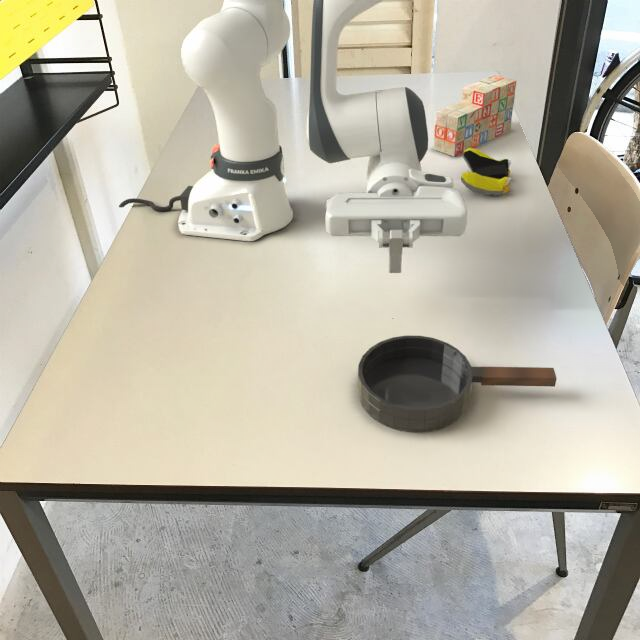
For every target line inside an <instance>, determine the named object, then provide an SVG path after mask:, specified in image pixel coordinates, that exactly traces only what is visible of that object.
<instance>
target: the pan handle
mask: <svg viewBox="0 0 640 640" xmlns="http://www.w3.org/2000/svg"><path fill="white" fill-rule="evenodd" d="M471 370H472V375H473V381H472V384H480V385H481V386H492V387H493V386H496V387H497V386H499V387H500V386H501V387H502V386H504V387H508V386H509V387H510V386H511V387H549V388H550V387H551V388H553V387H556V384H557V379H558V378H557V373H556V370H555V368H554V367H542V366H541V367H537V366H535V367H534V366H532V367H531V366H526V367H525V366H471Z"/></svg>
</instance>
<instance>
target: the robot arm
mask: <svg viewBox="0 0 640 640" xmlns="http://www.w3.org/2000/svg"><path fill="white" fill-rule="evenodd" d="M383 1H384V0H313V3H312V5H313V6H312V17H311V38H310V39H311V40H310V75H309V76H310V79H309V80H310V81H309V82H310V83H309V105H308V110H307V115H306V124H305V132H306V133H305V134H306V140H307V144H308V146H309V151H311V152H312V153H313V154H314V155H315V156H316V157H318V158H319V159H321V160H322V161H324V162H326V163H328V164H329V165H330V164H335V163H340V162H345V161H350V160H351V159H357V158H358V159H359V158H367V157H368V164H367V170H366V186H365V187H366V188H365V192H340V193H336V194H335V195H333V196H332V197H330V198H328V199H327V200H326V201H325V210H326V211H325V218H324V219H325V232H326V233H327V234H328V235H330V236H331V237H370V238H372V239H373V240H374V241H376V242H377V243H378V248H379V249H380V248H381V249H385V248H387V249H389V244H390V230H403V248H404V249H405V248H407V249H413V246H414V243H415V242H416V241H417V240H418V239H419V238H420V237H461V236H463V235H464V234H465V233H466V231H467V224H468V210H467V206H466V203H465V201H464V198H463V196H462V194H461V193H460V192H459V191H458V190H457V189H455V185H454V183H455V182H454V179H453V178H452V177H449V176H444V175H438V174H433V173H428V172H425V171H422V164H421V161H423V159H424V157H425V156H426V154H427V152H428V150H429V131H428V125H427V116H426V110H425V106H424V102H423V100H422V99H421V98H420V96H419V95H418V94H417V93H416V92H415V91H413V90H412V89H411V88H409V87H407V86H403V87H394V88H384V89H377V90H373V91H367V92H366V91H365V92H359V93H351V94H349V93H348V94H341V93H339V92H338V90H337V81H338V80H337V79H338V57H339V41H340V37H341V34H342V32H343V30H344V28H345V27H346V26H347V25H348V24H349V23H350V22H351V21H353V19H355V18H356V17H358V16H360V15H361V14H363V13H364V12H366V11H368V10H370V9H371V8H373V7H375V6H376V5H378V4H380V3H381V2H383ZM290 36H291V22H290V18H289V16H288V14H287V12H286V10H285V9H284V0H223V4H222V7H221V9H220V11H219V12H217V13H214V14H212V15H210V16H208V17H206V18H204V19H202V20H201V21H200V22H198V23H197V25H196V26H194V27H193V28H192V30H191V31H190V32H189V33H188V34H187V35H186V37H185V38H184V40H183V42H182V44H181V50H180V56H181V62H182V66H183V69H184V70H185V72H186V74H187V76H188V77H189V79H190V80H191V81H192V82H194V83H195V84H196V85H197V86H198V87H200V88H202V89H203V91H204V92H205V94H206V95H207V99H208V100H209V102H210V105H211V108H212V111H213V114H214V119H215V124H216V125H215V126H216V132H217V139H218V143H216V144H214V145H213V147H212V149H211V156H210V161H209V164H210V169H211V170H209V171H208V172H207V173H206V174H205V175H203V176H202V177H201V178H199V179H198V181H196V182H195V184H194V185H187V187H186V188H185V189H184V190H183V191H182V192H181V193H180V195H178V196H174V197H171V198H170V199H169V201H168V205H167V206H166V205H165V206H158V205H156V204H155V203H154V202H153V201H151V200H146V199H143V198H135V197H134V198H127V199H125V200H123V201H121V202H120V203H119V205H118V208H125V206H127V205H128V204H134V203H135V204H141V205H142V204H143V205H147V206H150V208H151V209H152V210H154V211H157V212H168V211H171V210H172V209H173V208H174V203H175V202H179V201H180V207H181V212H180V214H179V217H178V221H177V222H178V230H179V232H180V233H181V234H182V235H186V236H194V237H203V238H204V237H205V238H213V239H214V238H215V239H223V240H232V241H243V242H254V241H257V240H259V239H260V238H262V237H263V236H265V235H267V234H271V233H274V232H277V231H279V230H282V229H283V228H285V227H286V226H288V225H289V224H290V223H291V222H292V220H293V218H294V211H293V209H292V207H291V203H290V200H289V197H288V194H287V190H286V186H285V183H286V182H287V179H286V177H285V160H284V154H283V148H282V146H281V145H280V136H279V124H278V123H279V121H278V109H277V107H276V104H275V103H274V101H272V100H271V99H270V98H268V97H267V96H266V92H265V90H264V87H263V85H262V80H261V70H262V68H264V67H266V65H268V64H270V63H271V62H273V61H275V60H276V59H277V57H278V56H279V55H280V54H281V53H282V51H283V50H284V49H285V47H286V45H287V44H288V41H289V39H290Z"/></svg>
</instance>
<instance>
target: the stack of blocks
mask: <svg viewBox="0 0 640 640" xmlns="http://www.w3.org/2000/svg"><path fill="white" fill-rule="evenodd" d="M516 87H517V80H515V79H512V78H508V77H503V76H499V75H492V76H489V77H485V78H482V79H480V80H478V81H476V82H473V83H471V84H468V85H466V86H464V87H462V93H461V100H460V101H458V102H455V103H453V104H451V105H448V106H446V107H443V108H441V109H439V110H436V114H435V124H434V135H433V136H434V137H433V138H434V139H433V140H434V141H433V150H434V151H438V152H440V153H443V154H445V155H449V156H452V157H456V156H459V155H460V154H462V153H464V151H465V150H467V149H468V148H474V149H475V148H476V147H479V146H480V145H482V144H484V143H487V142H488V141H491V140H493V139H495V138H497V137H500V136H502V135H504V134H507V133H510V131H511V127H512V120H513V119H512V117H513V111H514V110H513V109H514V105H515V97H516Z"/></svg>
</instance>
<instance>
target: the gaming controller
mask: <svg viewBox="0 0 640 640" xmlns="http://www.w3.org/2000/svg"><path fill="white" fill-rule="evenodd" d="M462 153H463V154H462V159H463V160H464V162H465V163H466V165H467V167H468V168H469V170H470V171H466V172H463V173H461V175H460V181H461V183H462V184H463V185H464V186H465V187H466V188H467V189H469V190H470V191H471V192H472V193H477V194H485V195H488V196H489V197H493V198H495V197H499V196H500V195H505V194H506V193H507V192H510V190H511V180H512V177H511V176H510V173H511V170H510V166H511V164H512V160H511V159H508V158H502V159H495V158H493V157H491V155H488V154H486V153H484V151H483V152H482V151H481V150H479V149H478V148H475V147H474V148H468V149H467V150H465V151H464V152H462Z"/></svg>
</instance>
